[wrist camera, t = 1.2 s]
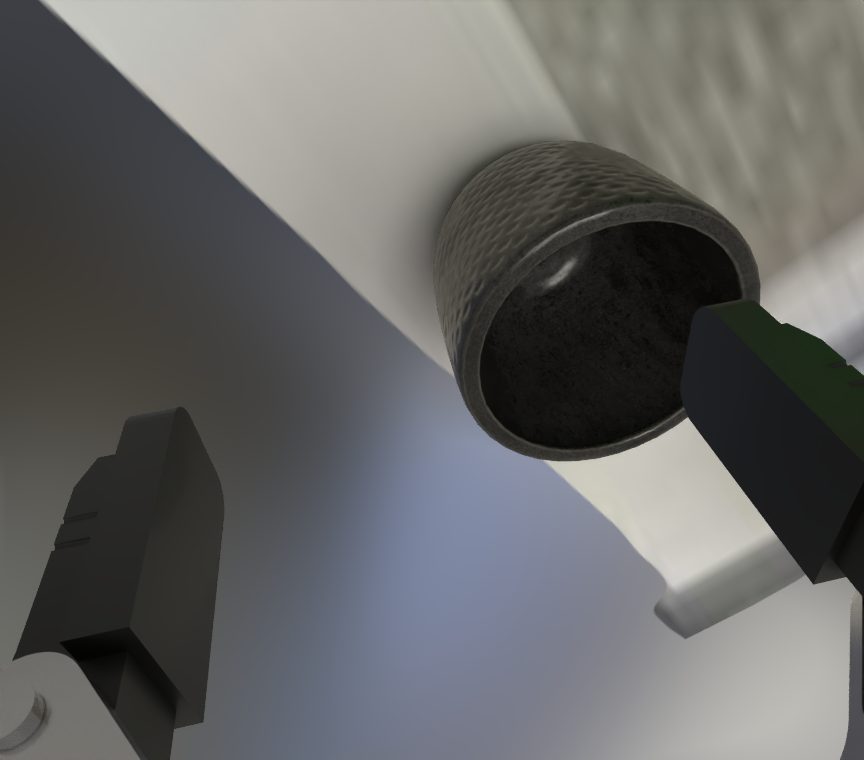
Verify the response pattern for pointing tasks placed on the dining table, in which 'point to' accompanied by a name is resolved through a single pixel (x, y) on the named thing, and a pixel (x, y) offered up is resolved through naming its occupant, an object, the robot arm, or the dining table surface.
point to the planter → (579, 297)
